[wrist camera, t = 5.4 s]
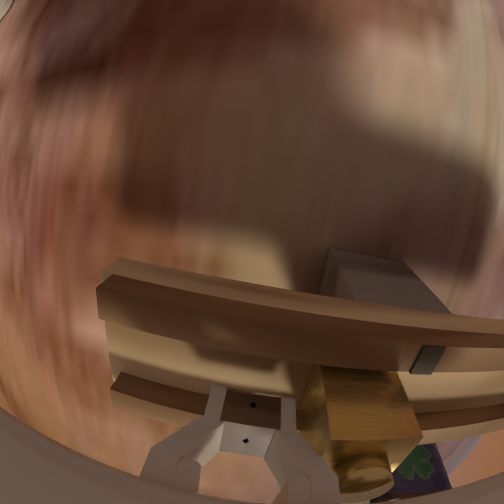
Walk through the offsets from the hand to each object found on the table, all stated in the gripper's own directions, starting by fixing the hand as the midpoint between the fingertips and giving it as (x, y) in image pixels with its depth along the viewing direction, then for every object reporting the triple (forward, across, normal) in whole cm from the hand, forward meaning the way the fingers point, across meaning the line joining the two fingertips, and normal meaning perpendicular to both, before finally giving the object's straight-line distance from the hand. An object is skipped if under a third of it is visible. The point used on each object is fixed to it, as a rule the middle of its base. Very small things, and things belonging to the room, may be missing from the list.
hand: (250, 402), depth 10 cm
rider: (+1, -4, 0) cm, 4 cm away
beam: (+9, -6, 0) cm, 11 cm away
